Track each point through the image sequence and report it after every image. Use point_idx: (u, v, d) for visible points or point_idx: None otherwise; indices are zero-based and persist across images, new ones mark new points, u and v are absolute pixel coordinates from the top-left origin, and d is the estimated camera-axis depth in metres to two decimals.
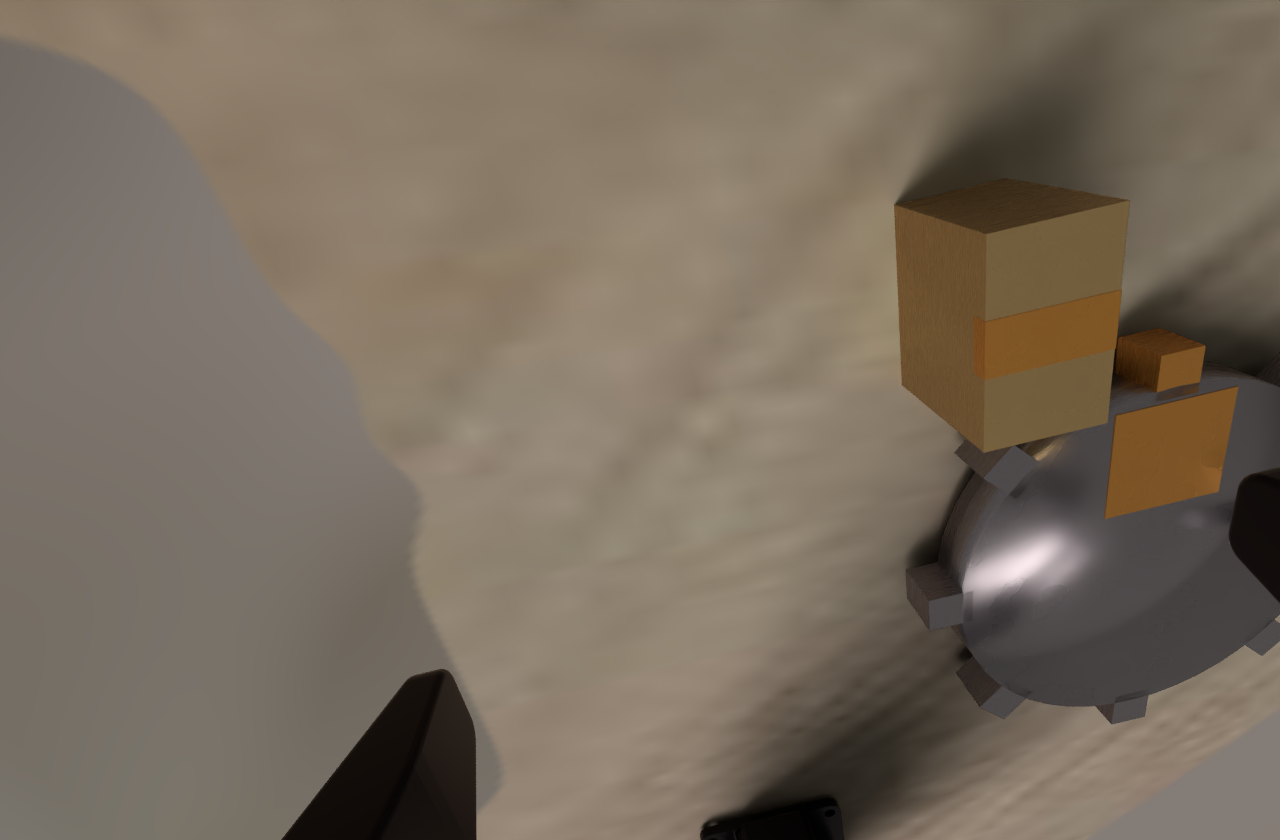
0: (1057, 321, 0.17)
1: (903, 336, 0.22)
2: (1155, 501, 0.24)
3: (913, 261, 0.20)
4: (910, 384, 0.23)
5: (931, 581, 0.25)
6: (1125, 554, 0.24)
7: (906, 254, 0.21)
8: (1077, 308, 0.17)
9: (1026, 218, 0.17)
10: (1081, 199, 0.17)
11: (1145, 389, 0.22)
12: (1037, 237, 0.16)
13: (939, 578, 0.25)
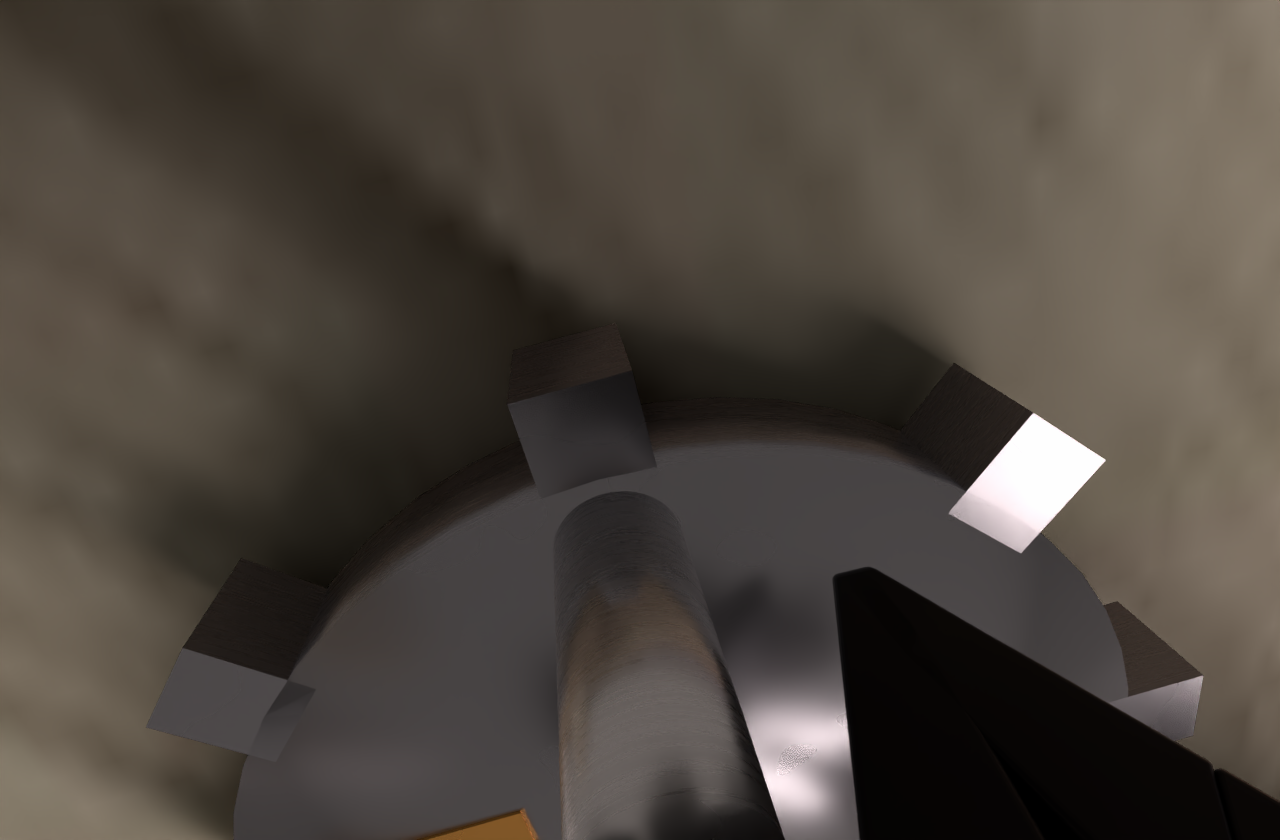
0: None
1: None
2: None
3: None
4: None
5: None
6: None
7: None
8: None
9: None
10: None
11: None
12: None
13: None
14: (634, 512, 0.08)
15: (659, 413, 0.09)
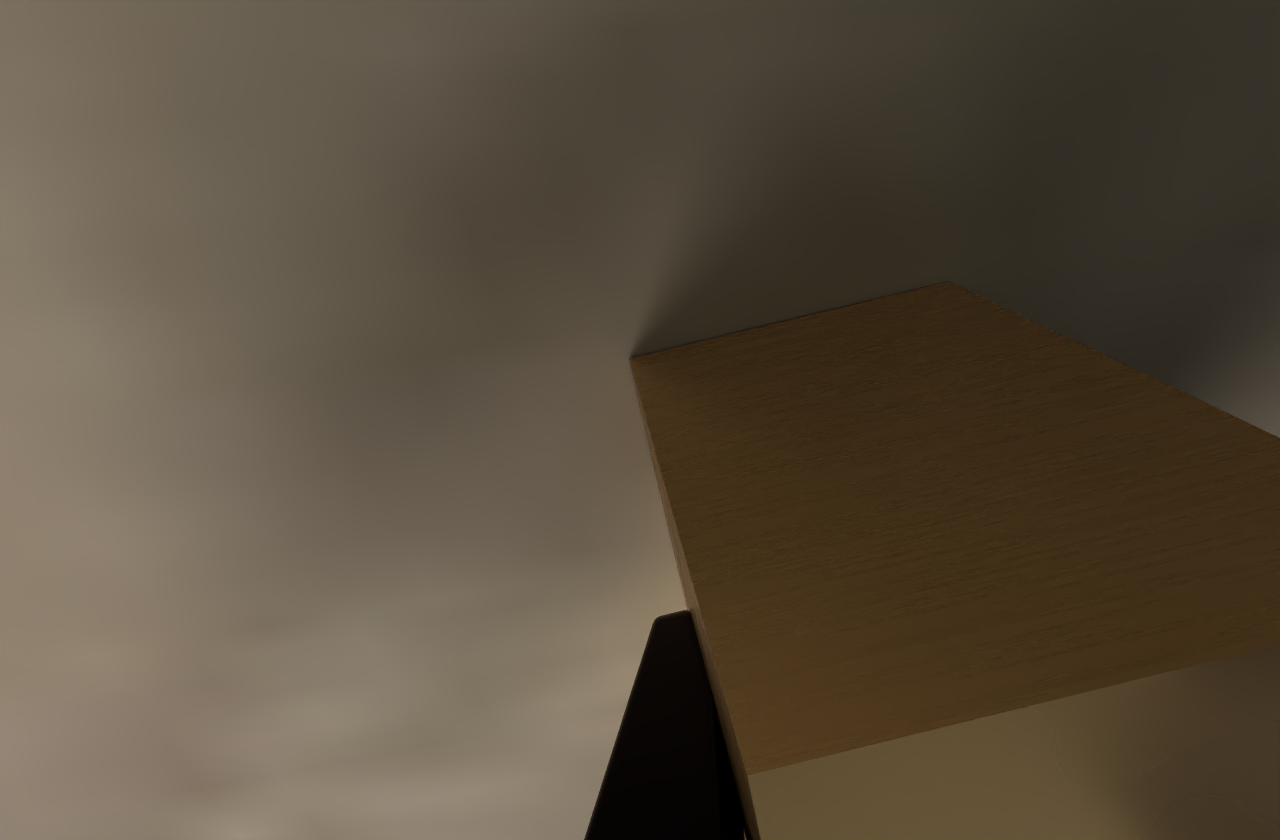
0: None
1: None
2: None
3: (673, 535, 0.07)
4: None
5: None
6: None
7: (663, 502, 0.07)
8: None
9: (983, 623, 0.03)
10: (1242, 482, 0.04)
11: None
12: (1040, 761, 0.03)
13: None
14: None
15: None
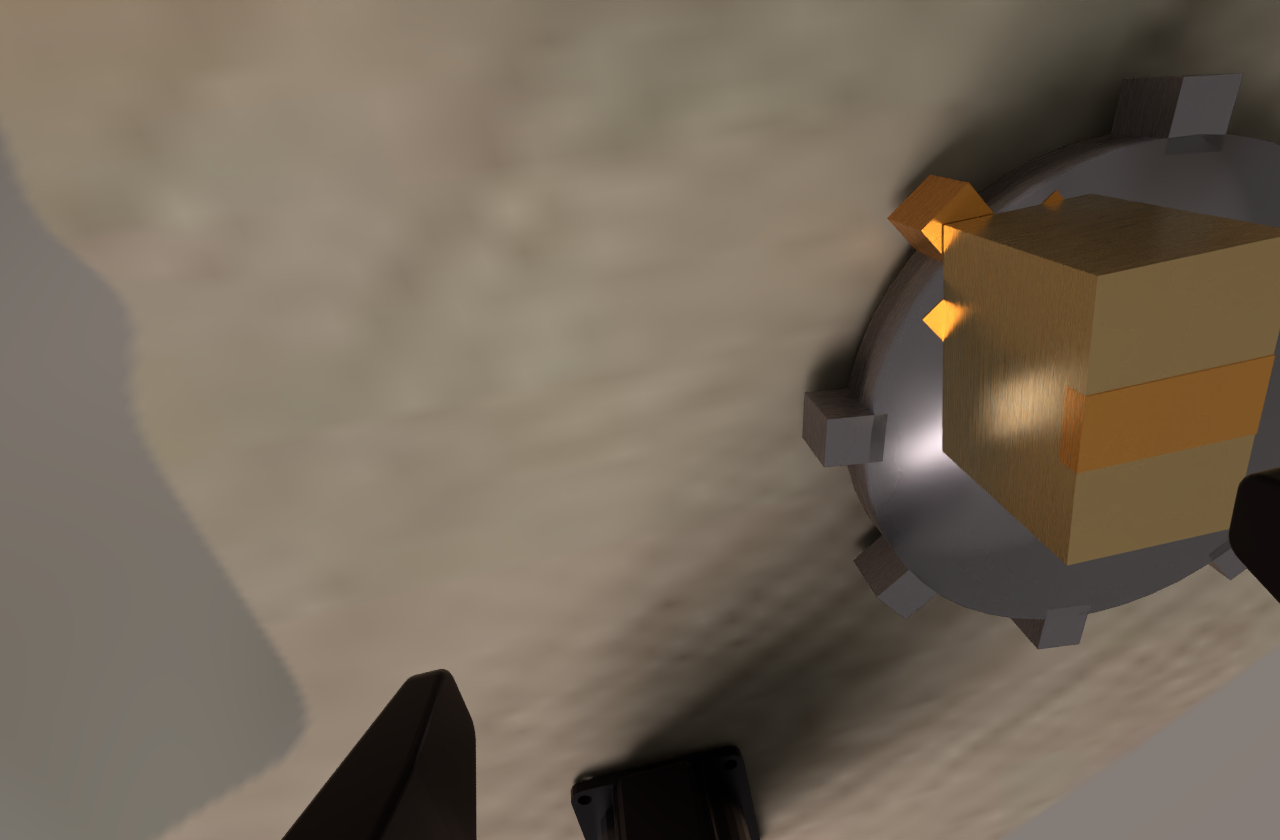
0: (1182, 397, 0.13)
1: (949, 393, 0.17)
2: None
3: (970, 300, 0.15)
4: (954, 453, 0.18)
5: (878, 566, 0.21)
6: None
7: (960, 290, 0.16)
8: (1212, 379, 0.12)
9: (1150, 254, 0.12)
10: (1222, 227, 0.12)
11: (941, 267, 0.17)
12: (1168, 281, 0.12)
13: (885, 558, 0.21)
14: None
15: None
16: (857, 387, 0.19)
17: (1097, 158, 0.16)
